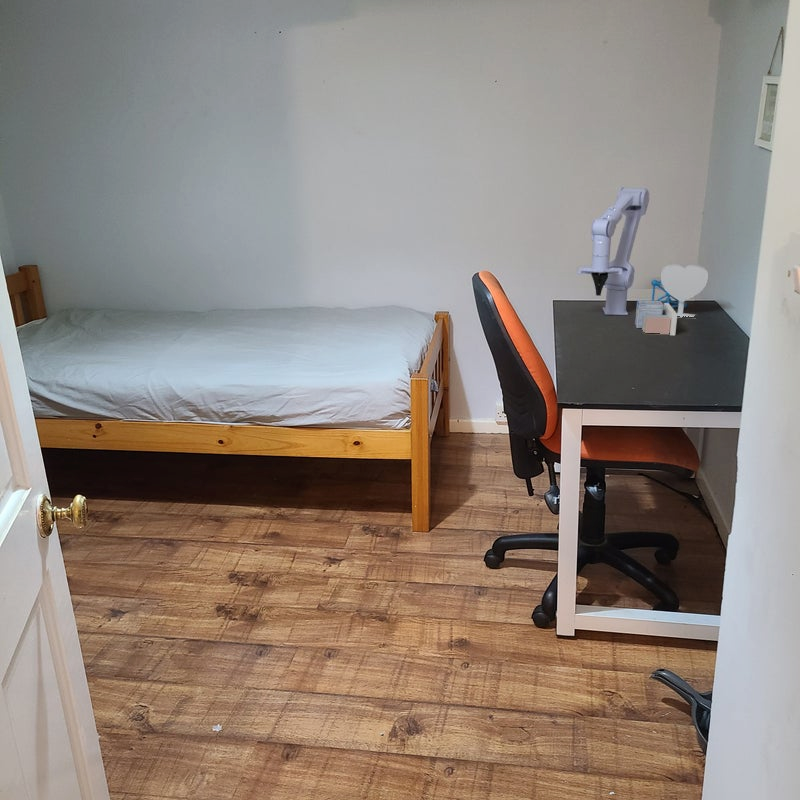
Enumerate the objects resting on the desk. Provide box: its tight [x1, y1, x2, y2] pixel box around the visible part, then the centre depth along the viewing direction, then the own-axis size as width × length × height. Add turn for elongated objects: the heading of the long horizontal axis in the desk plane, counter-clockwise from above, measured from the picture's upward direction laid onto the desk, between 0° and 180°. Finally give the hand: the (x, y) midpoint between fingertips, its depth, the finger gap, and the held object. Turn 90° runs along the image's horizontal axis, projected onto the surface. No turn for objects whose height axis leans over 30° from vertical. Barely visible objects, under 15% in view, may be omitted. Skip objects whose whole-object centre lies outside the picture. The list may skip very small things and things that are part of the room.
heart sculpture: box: [660, 263, 709, 318], centre depth 283 cm, size 16×5×18 cm, turn 73°
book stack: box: [641, 302, 678, 336], centre depth 269 cm, size 17×10×7 cm, turn 172°
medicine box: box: [634, 300, 664, 329], centre depth 270 cm, size 8×4×9 cm, turn 84°
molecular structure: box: [650, 279, 688, 309], centre depth 296 cm, size 10×10×10 cm
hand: (598, 295), depth 276 cm, fingers closed
